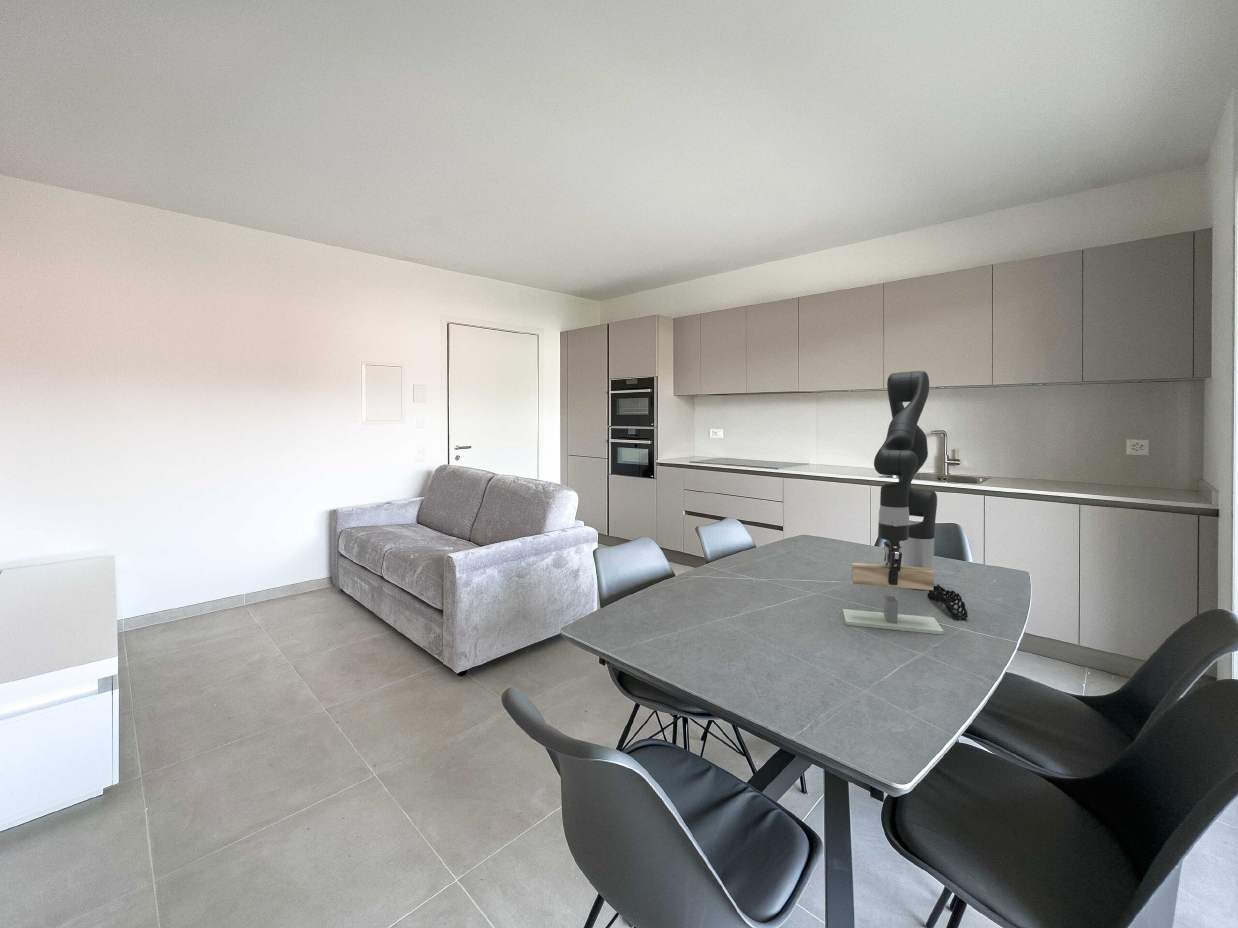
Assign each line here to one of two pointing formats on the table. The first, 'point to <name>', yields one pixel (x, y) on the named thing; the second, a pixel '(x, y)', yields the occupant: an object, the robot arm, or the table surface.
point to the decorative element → (949, 601)
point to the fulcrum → (892, 619)
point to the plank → (880, 575)
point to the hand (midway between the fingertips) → (891, 581)
